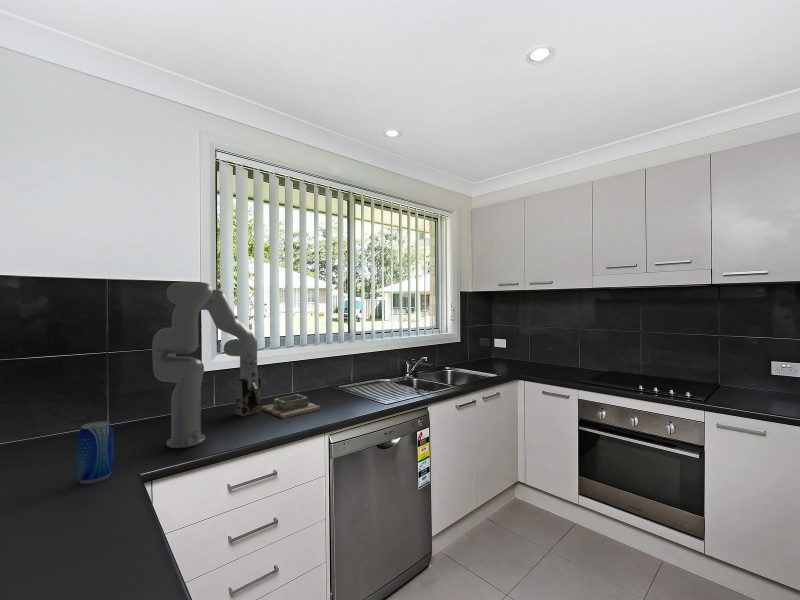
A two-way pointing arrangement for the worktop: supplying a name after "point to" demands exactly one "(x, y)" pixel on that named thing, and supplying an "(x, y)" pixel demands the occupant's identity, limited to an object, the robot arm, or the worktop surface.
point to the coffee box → (246, 398)
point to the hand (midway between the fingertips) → (248, 402)
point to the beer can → (94, 452)
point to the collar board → (290, 406)
